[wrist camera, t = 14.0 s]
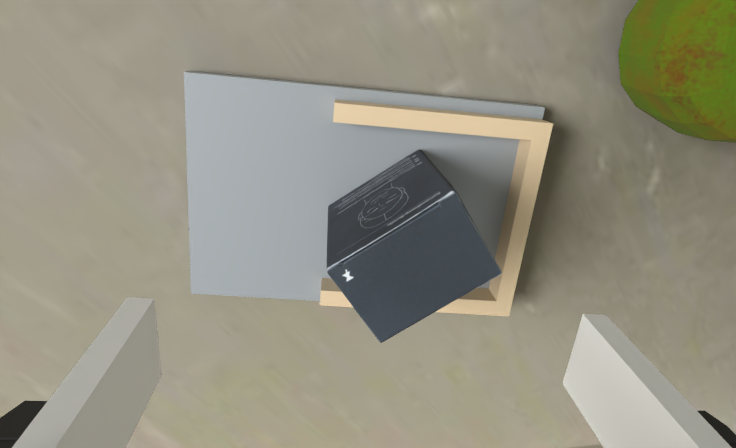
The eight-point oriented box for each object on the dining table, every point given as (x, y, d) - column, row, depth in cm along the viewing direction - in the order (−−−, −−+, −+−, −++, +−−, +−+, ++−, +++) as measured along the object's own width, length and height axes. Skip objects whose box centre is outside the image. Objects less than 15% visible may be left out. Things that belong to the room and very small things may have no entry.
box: (368, 264, 36) (379, 347, 26) (326, 204, 34) (320, 269, 24) (459, 210, 35) (506, 275, 25) (421, 145, 33) (455, 188, 23)
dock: (196, 284, 37) (182, 307, 34) (190, 70, 32) (173, 73, 29) (494, 302, 40) (508, 325, 36) (536, 104, 34) (557, 111, 31)
